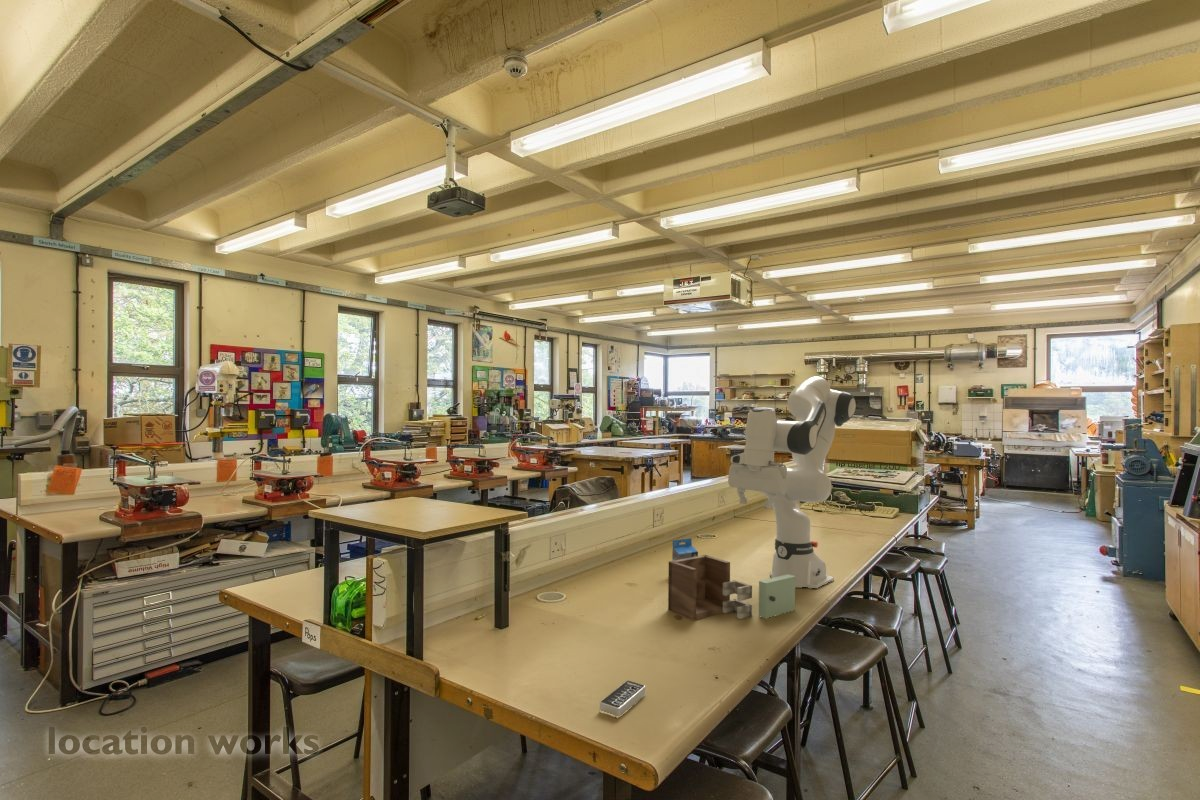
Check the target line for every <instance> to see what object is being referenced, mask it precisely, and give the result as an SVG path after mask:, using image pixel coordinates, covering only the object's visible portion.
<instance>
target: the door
mask: <svg viewBox="0 0 1200 800" xmlns="http://www.w3.org/2000/svg"><path fill="white" fill-rule="evenodd" d="M793 610H795V611H796V587H795V576H793V575H789V574H787V575H783V576H778V577H774V578H771V577H770V578H767V579H762V580H759V581H758V617H759V616H761V617H760V618H762V617H764V618H763V619H765V618H767V619H770V618H769V617H771V618H773V617H772V616H774V617H776V616H775V615H778V616H780V615H779V614H781V615H783V614H782V613H784V614H787V613H786V612H788V613H790V612H789V611H791V612H794V611H793Z"/></svg>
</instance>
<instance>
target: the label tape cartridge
mask: <svg viewBox="0 0 1200 800" xmlns="http://www.w3.org/2000/svg"><path fill="white" fill-rule="evenodd" d="M682 543H684V544H682ZM692 544H693V543H692V538H690V537H689V538H682V539H674V540H673V539H672V553H671V554H672V555H671V557H672V559H671V561H675V560H680V559H686V558H691V557H697V556H699V551H698V550H697V549H696V548H695V546H693V545H692Z"/></svg>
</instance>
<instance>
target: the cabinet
mask: <svg viewBox="0 0 1200 800" xmlns="http://www.w3.org/2000/svg"><path fill="white" fill-rule="evenodd" d="M667 584H668V587H667V589H668V590H667V591H668V598H667V599H668V601H667V603H668V605H667V608H668V609H667V610H668V611H670V612H672V613H675V614H677V615H679V616H681V617H684V618H685V619H688V620H690V621H695V620H699V619H702V618H706V617H710V616H714V615H717V614H721V613H723V614H729V613H732V612H736V619H739V620H741V619H745V618H749V617H752V616H753V610H752V609H753V605H752V604H750V603H747V602H745V601H746V600H751V599H753V585H751V584H749V583H746V582H742V581H739V580H736V579H734V580H731V562H730V561H728V560H724V559H721V558H718V557H714V556H711V555H707V554H703V555H698V556H697V557H691V558H686V559H680V560H675V561H672V560H670V561H668V583H667ZM735 594H736V595H737V598H733V599H731V595H735Z"/></svg>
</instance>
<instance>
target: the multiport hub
mask: <svg viewBox="0 0 1200 800" xmlns="http://www.w3.org/2000/svg"><path fill="white" fill-rule="evenodd" d="M644 696H646V685H645V684H642V683H638V682H635V681H632V680H626V681H624V682H623V683H621V684H620V685H619V686H618V687H616V689H614V690H613V691H612V692H610V693H609V694H608V695H606V696H605V697H604V698H603V699H601V700H600V701H599V711H600V710H601V711H604V712H607V713H610V714H613V715H615V716H620V715H622V714H623V713H624V712H625V711H626V710H628V709H629V708H630V707H631V706H633V705H634V704H635V703H637V702H638V701H639V700H640V699H641V698H642V699H643V698H645V697H644ZM642 699H641V700H642ZM641 700H640V701H641ZM640 701H639V702H640ZM639 702H638V703H639ZM638 703H637V704H638ZM635 705H636V704H635ZM635 705H634V706H635ZM634 706H633V707H634Z"/></svg>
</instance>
